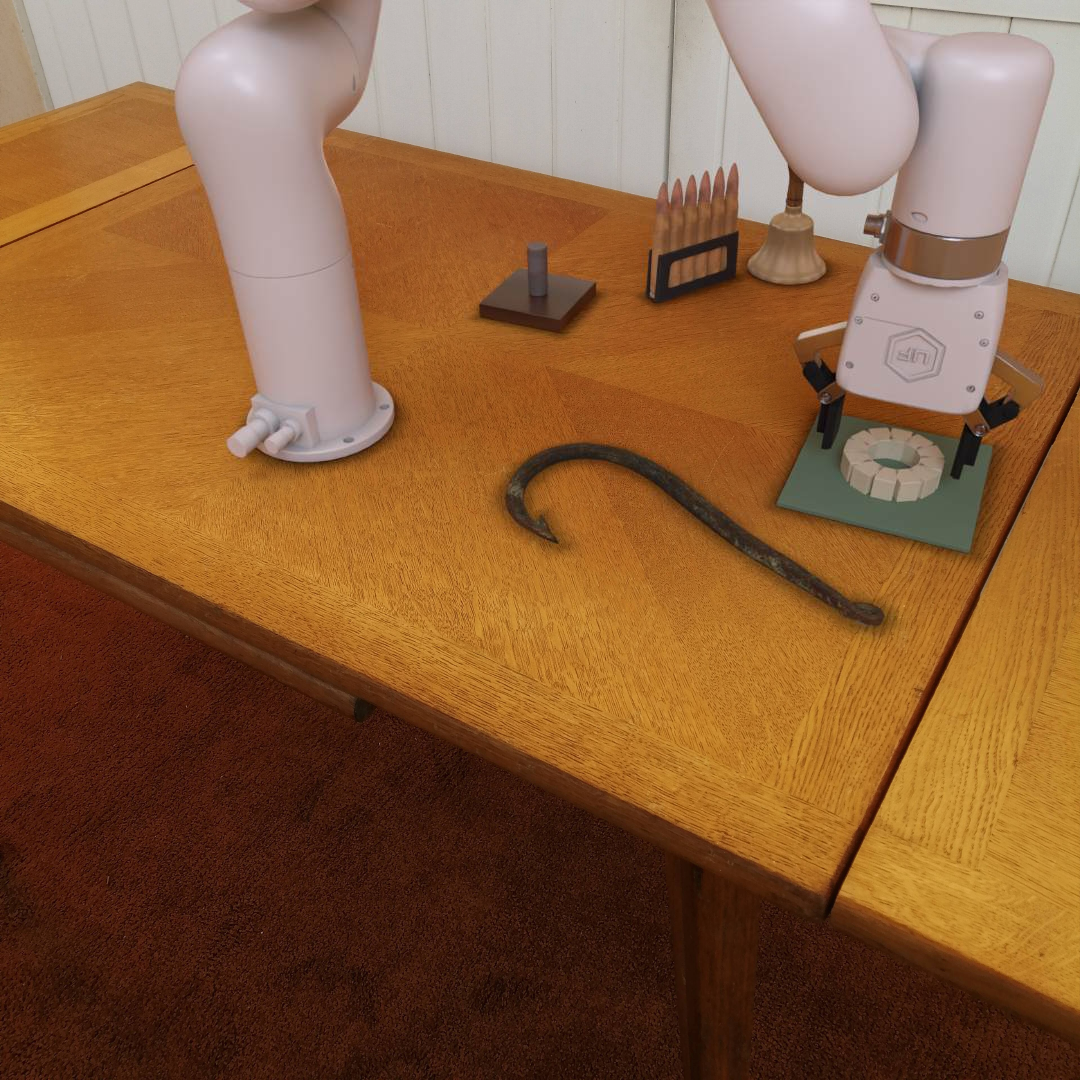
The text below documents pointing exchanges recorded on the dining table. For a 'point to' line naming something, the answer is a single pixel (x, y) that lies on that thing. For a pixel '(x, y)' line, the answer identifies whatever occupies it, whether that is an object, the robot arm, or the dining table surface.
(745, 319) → the dining table surface
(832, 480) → the mat
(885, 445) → the segmented ring
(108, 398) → the dining table surface
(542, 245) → the peg stand
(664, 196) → the ammunition clip
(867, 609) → the hook
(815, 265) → the hand bell
